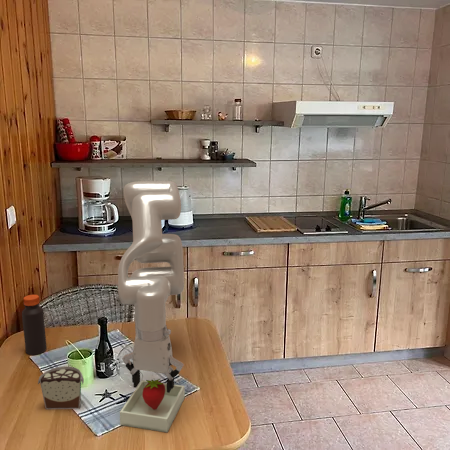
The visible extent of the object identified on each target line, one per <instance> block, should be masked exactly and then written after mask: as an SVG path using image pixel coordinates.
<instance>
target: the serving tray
mask: <svg viewBox="0 0 450 450" xmlns="http://www.w3.org/2000/svg"><path fill="white" fill-rule="evenodd" d="M162 383H163V384H164V386H165V395H164V398H163V400H162V402H161V403H160V405H159V406H158V408H157V409H155V410H154V409H152V408H151V407H150V406H148V405H147V404H146V403H145V401H144V399H143V396H142V393H143V389H144V387H145V386H146V385H147V384H148V382H147V381H146V380H144V379H141V380H140V383H139V384H138V386H137V387H136V388H134V389H135V390H134V391H133V392H132V394H131V395H130V397H129V398H128V399H127V401H126V402H125V404H124V405H123V406H122V408H121V410H119V425H120V426H122V427H123V426H125V427H131V428H137V429H142V430H149V431H154V432H161V433H168V432H169V431H170V429H171V426H172V424H173V422H174V420H175V418H176V416H177V415H178V413H179V411H180V408H181V406H182V404H183V402H184V400H185V395H186V394H185V393H186V392H185V391H186V390H185V388H186V387H185V385H180V384H174V388H173V389H171V391H170V393H167V382H166V383H165V382H162Z"/></svg>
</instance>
